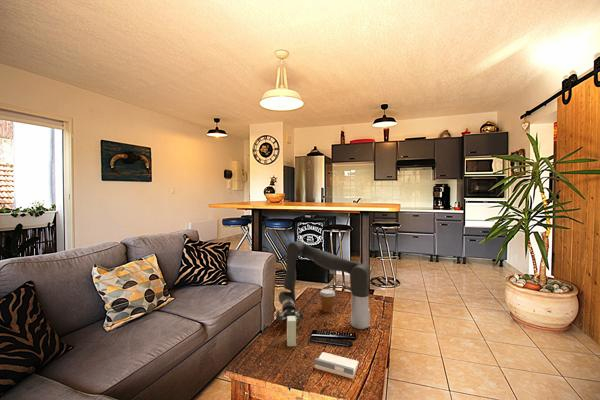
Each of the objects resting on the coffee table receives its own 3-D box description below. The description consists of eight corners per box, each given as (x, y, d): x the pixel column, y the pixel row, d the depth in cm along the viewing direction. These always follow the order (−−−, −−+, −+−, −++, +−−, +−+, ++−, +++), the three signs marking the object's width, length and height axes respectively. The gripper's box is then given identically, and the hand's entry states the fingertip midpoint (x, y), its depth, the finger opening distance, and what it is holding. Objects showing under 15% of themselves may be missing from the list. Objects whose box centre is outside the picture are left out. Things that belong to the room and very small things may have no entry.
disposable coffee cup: (330, 315, 165) (331, 295, 165) (316, 311, 170) (317, 291, 170) (337, 309, 173) (337, 290, 173) (323, 306, 178) (324, 287, 178)
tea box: (294, 339, 136) (295, 315, 136) (295, 346, 131) (296, 320, 131) (286, 340, 136) (286, 316, 136) (287, 346, 130) (287, 321, 130)
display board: (322, 355, 123) (322, 347, 123) (358, 364, 117) (358, 356, 117) (314, 368, 114) (314, 359, 114) (352, 379, 108) (352, 370, 108)
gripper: (276, 302, 157) (276, 314, 140) (301, 301, 158) (304, 313, 142) (275, 315, 157) (276, 328, 141) (300, 314, 158) (304, 327, 142)
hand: (290, 321), depth 141 cm, fingers open, 8 cm apart
